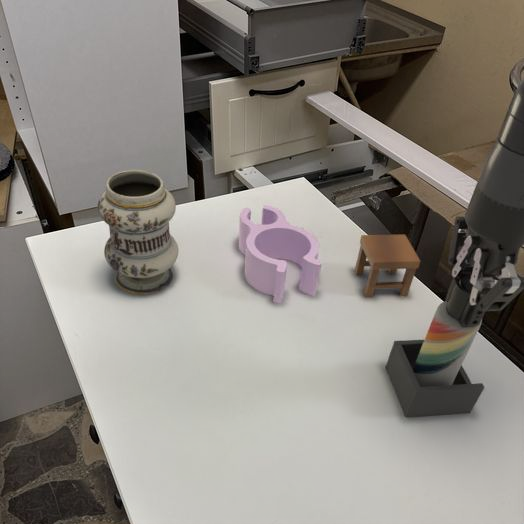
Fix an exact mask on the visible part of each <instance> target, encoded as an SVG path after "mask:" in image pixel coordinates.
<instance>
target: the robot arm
mask: <svg viewBox="0 0 524 524" xmlns="http://www.w3.org/2000/svg"><path fill="white" fill-rule="evenodd" d="M466 208H467V209H466V211H465V214H464V215H462V216H456V217H455V219H454V224H453V230H452V235H451V241H450V246H449V251H448V252H449V253H448V258H447V262H448V265H450V266H453V268H452V271H451V276H452V280H451V283H450V285H449V287H448V290H447V294H446V297H445V301H447V303H448V301H449V298H450V296H451V293H452V291H453V288H454V286H455V283H456V281H457V280H459V279H461V278H462V277H464V276H471V280H470V283H471V284H472V285H473V287H472V291H471V295H470V300H469V301H468V302H467V305H466V307H465V309H464V311H463V314H462V316H461V318H460V320H459V323H460V325H461V326H462V327H475V326H478V325H479V324H480V322H481V320H482V321H483V317H484V315H485V313H486V312H496V311H499V312H500V311H503V309H505V308H506V307H507V306H508V305H509V304H510V303H511V302H512V301H513V300H514V299H515V298H516V297H517V296H518V295H519V294H520V293H521V292H523V290H524V276H518V274H517V270H516V267H515V266H516V265H517V263H518V258H519V254H520V253H519V252H520V249H521V248H522V247H523V246H524V78H523V79H521V81H520V82H519V84H518V85H517V87H516V89H515V91H514V93H513V95H512V98H511V101H510V103H509V105H508V108H507V111H506V113H505V116H504V119H503V121H502V124H501V126H500V129H499V132H498V135H497V137H496V139H495V142H494V143H493V145H492V147H491V149H490V151H489V153H488V154H487V157H486V159H485V161H484V163H483V166H482V168H481V171H480V173H479V177H478V180H477V181H476V185H475V187H474V190H473V193H472V195H471V197H470V201H469V203H468V206H467V207H466ZM460 247H461V249H460ZM459 249H460V251H459ZM483 288H488V289H487V293H486V295H480V294H481V291H482V289H483Z"/></svg>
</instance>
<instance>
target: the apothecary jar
mask: <svg viewBox="0 0 524 524" xmlns="http://www.w3.org/2000/svg"><path fill="white" fill-rule="evenodd" d="M162 179H163V178H161V177H160V176H159V175H157V174H156V173H153V172H152V171H148V170H143V169H128V170H123V171H120V172H116V173H114V174H113V175H111V176H110V177H109V178H108V179H107V181H106V183H105V189H106V190H105V191H104V192H102V194H100V197H99V198H98V202H97V212H98V214H99V216H100V218H101V219H102V221H103V222H104V223H105V224H106V225H108V228H109V229H108V230H109V238H108V239H107V240H106V242H105V245H104V249H103V250H104V251H103V254H104V258H105V261H106V263H107V264H108V266H109V267H110V268H111V269H112V270H114V271H115V272H116V274H115V283H116V285H117V286H118V287H119V288H120V289H122V290H123V291H125V292H127V293H129V294H130V293H131V294H136V295H148V294H155V293H157V292H160V291H161V289H162V288H163V287H167V286H169V285H170V284H171V283H172V280H173V271H172V269H171V267H173V265H174V264H176V261H177V260H178V256H179V245H178V242H177V241H176V239H175V237H174V236H173V235H172V234H171V233H170V221H172V219H173V218H174V216H175V213H176V209H177V205H176V201H175V198H174V196H173V194H172V193H171V192H170V191H169V190H168V189H166V188H165V184H164V181H163V180H162Z"/></svg>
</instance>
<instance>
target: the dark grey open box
mask: <svg viewBox="0 0 524 524" xmlns="http://www.w3.org/2000/svg"><path fill="white" fill-rule="evenodd" d="M424 340H425V339H408V340H406V339H405V340H394V341H393V344H392V348H391V350H390V352H389V355H388V358H387V362H386V364H385V370H386V374H387V376H388V378H389V380H390V383H391V385H392V388H393V390H394V392H395V395H396V397H397V400H398V402H399V405H400V407H401V409H402V412H403V415H404V418H406V419H408V418H410V419H411V418H421V417H422V418H423V417H435V416H436V417H437V416H450V415H452V416H453V415H466V414H471V413H472V411H473V410H474V407H475V406H476V404H477V402H478V400H479V399H480V397H481V395H482V393H483V392H484V390H485V386H484V383H482V382H479V383H478V382H477V383H472V381H471V379H470V377H469V376H468V374H467V372H466V370H465V369H464V366H463V364H462V365H461V367H460V369H459V371H458V373H457V375H456V377H455V379H454V381H453V383H452V385H444V386H428V387H420V385H419V383H418V381H417V379H416V377H415V374H414V372H413V368H414V365H415V363H416V360H417V357H418V355H419V352H420V350H421V347H422V345H423V342H424Z"/></svg>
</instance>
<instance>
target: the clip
mask: <svg viewBox="0 0 524 524" xmlns="http://www.w3.org/2000/svg"><path fill="white" fill-rule="evenodd" d="M251 215H252V209H251V208H249V207H245V208H242V210H241V211H240V213H239V222H238V223H239V226H238V227H239V228H238V250H239V252H240V253H241V254H242V255H244V256H245V259H244V278H245V280H246V283H248V284H249V285H250V286H251V287H252V288H253V289H255V290H256V291H257V292H260V293H263V294H265V295H267V296H268V295H269V296H273V299H272V300H273V303H275V304H281V303H282V301H283V298H284V295H285V288H286V287H285V286H286V278H287V268H288V263H287V261H289V262H292V263H295V264H297V265H298V266H299V267H300V268H301V271H300V278H299V284H298V290H299V291H301V292H302V293H304V294H306V295H309V296H311V297H315V296H316V294H317V291H318V285H319V281H320V280H319V279H320V274H321V268H322V263H323V262H322V261H321V260H320V259H318V258H319V253H320V243H319V241H318V239H317V238H316V236H315V235H314V234H312V233H311V232H310V231H308V230H306V229H304V228H303V227H300V226H297V225H294V224H291V223H290V222H289V221H287V218H286V214H285V213H284V212H283V211H282V210H281V209H279V208H277V207H275V206H272V205H268V204H263V205H262V211H261V224H260V223H256V222H253V221H252V220H251V218H252V216H251Z"/></svg>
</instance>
